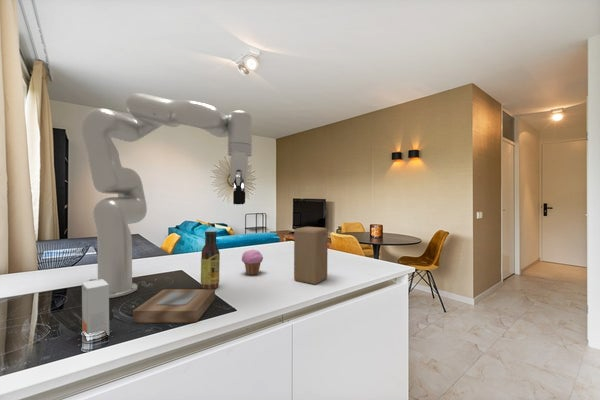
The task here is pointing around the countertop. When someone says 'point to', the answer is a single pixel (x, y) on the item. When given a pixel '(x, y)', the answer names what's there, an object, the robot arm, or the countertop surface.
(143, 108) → the robot arm
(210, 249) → the sauce bottle
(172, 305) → the walnut picture frame
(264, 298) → the countertop surface
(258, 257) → the cupcake
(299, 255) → the wooden block
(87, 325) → the skincare box
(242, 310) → the countertop surface
